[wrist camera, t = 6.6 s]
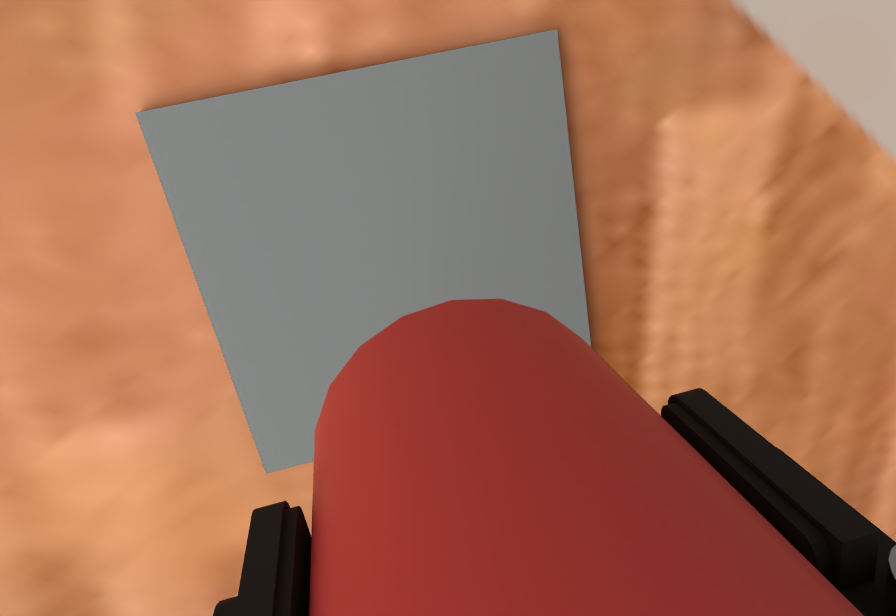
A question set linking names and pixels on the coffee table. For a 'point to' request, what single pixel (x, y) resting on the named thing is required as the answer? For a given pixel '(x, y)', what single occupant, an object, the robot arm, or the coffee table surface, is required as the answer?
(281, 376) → the slate mat
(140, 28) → the coffee table surface
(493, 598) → the beer can
